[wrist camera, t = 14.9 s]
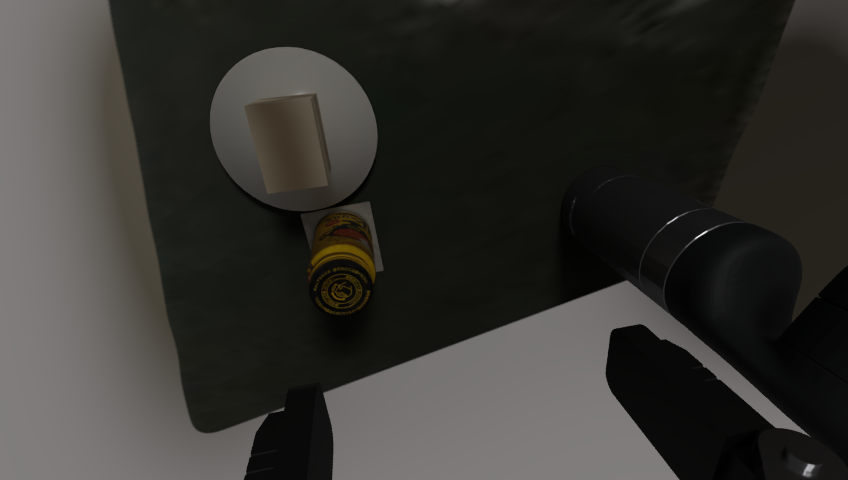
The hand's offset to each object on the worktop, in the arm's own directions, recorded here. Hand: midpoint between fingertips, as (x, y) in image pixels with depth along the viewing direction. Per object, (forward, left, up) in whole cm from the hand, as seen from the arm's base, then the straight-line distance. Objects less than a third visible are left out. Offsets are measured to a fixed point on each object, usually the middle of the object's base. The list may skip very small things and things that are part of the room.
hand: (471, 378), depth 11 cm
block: (+8, -2, -32) cm, 33 cm away
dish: (+8, -2, -33) cm, 34 cm away
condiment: (+6, +10, -33) cm, 35 cm away
